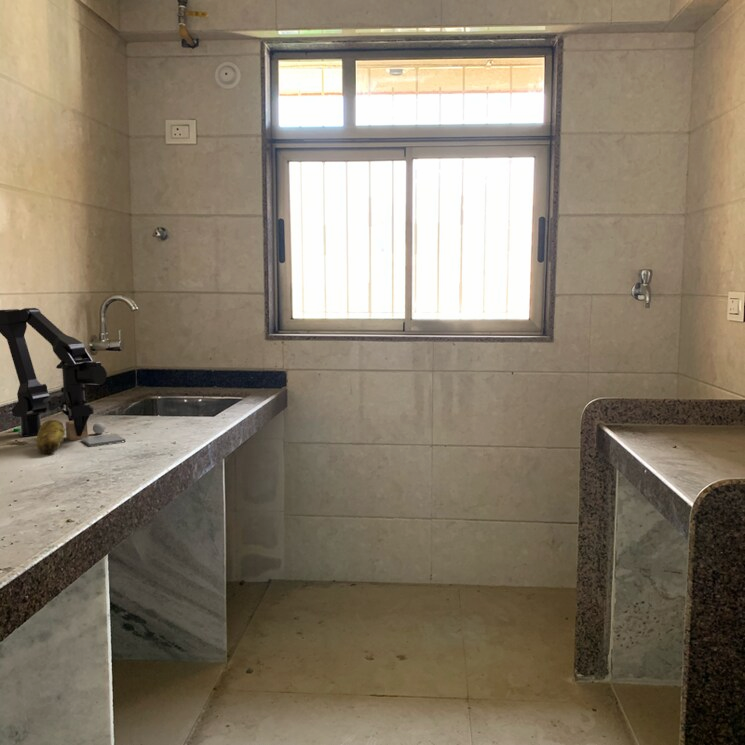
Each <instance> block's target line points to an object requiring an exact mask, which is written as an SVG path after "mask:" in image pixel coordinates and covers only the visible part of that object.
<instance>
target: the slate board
mask: <svg viewBox="0 0 745 745" xmlns="http://www.w3.org/2000/svg"><path fill="white" fill-rule="evenodd" d="M80 441H81V442H82V441H83V443H84V444H85V443H86V444H85V445H86V446H88V445H89V446H88V447H90V446H92V447H97V445H99V446H104V444H107V445H110V444H109V443H114V444H117V443H116V442H121V443H123V442H122V441H125V442H126V438H124V437H122V436H121V435H119V434H117V433H111V434H102V435H95V436H88V437H86V438H81V439H80Z"/></svg>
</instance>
